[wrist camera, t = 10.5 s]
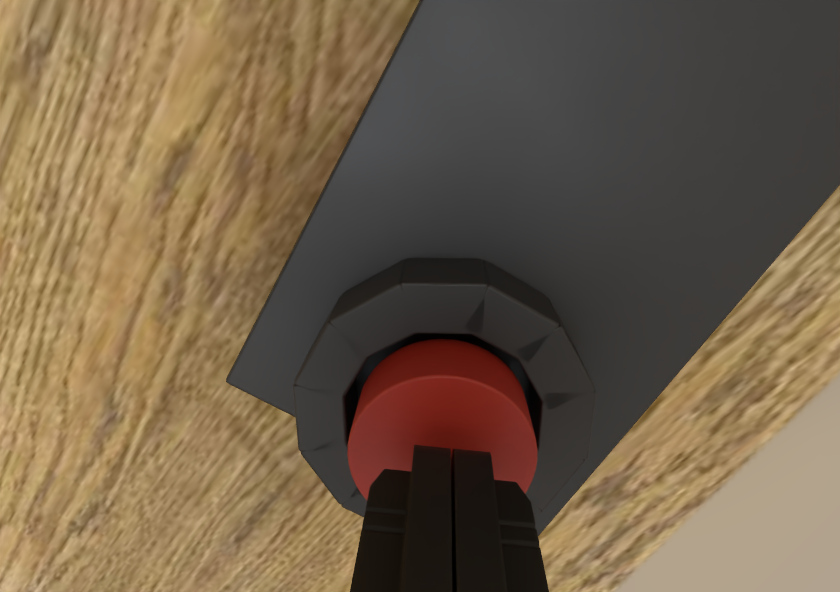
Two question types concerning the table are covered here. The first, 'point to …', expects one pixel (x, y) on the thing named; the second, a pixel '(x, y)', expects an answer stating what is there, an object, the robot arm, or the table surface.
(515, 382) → the button
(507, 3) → the button box
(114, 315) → the table surface
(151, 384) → the table surface
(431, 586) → the robot arm
